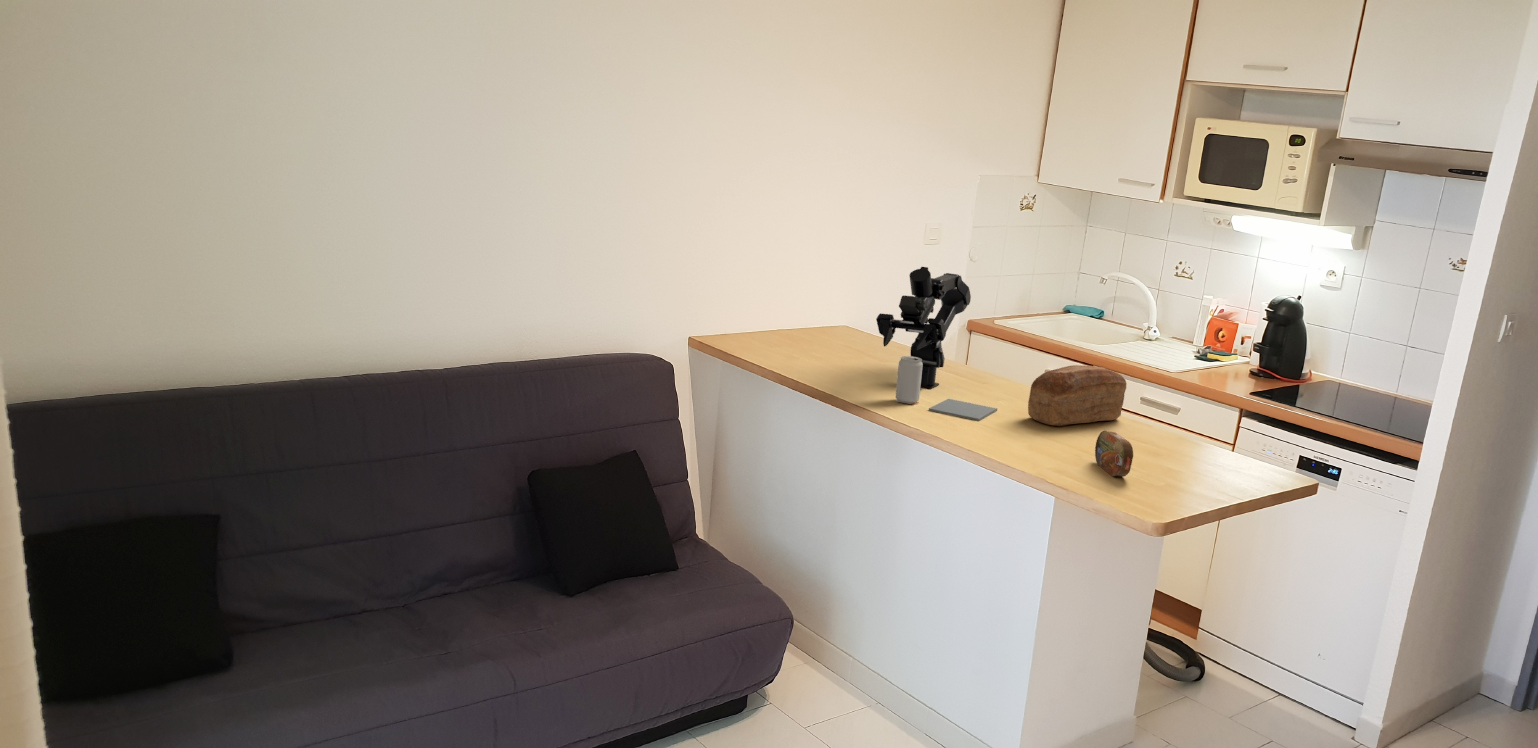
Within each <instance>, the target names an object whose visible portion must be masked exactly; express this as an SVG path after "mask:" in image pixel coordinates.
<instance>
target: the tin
mask: <svg viewBox="0 0 1538 748" xmlns="http://www.w3.org/2000/svg"><path fill="white" fill-rule="evenodd" d="M1094 456H1095V461H1096V464H1097V466H1099V467H1100V468H1101V469H1103V470H1104V471H1105V472H1106V473H1108V474H1109V475H1110V476H1111V477H1122V478H1123V477H1126V476H1127V475H1128V474H1130V472H1131V467H1132V465H1133V464H1132V463H1133V459H1134V450H1133V446H1132V444H1131V442H1130V441H1129V440H1127V439H1126V438H1125V437H1123V436H1121V435H1120V434H1119V433H1117V432H1115V431H1109V430H1105V429H1104V430H1102V431H1101V432H1100V433H1099V434H1098V437H1097V438H1096V441H1095V448H1094Z"/></svg>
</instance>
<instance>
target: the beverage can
mask: <svg viewBox="0 0 1538 748" xmlns="http://www.w3.org/2000/svg"><path fill="white" fill-rule="evenodd" d="M921 361H922V359H921V358H918V357H912V356H911V355H907V356H906V355H905V356H904V355H903V356H901V357H900V359H899V361H898V369H897V376H896V377H897V378H896V389H895V400H898V401H899V402H898V403H901V404H902V403H903V404H907V403H909V404H908V405H911V404H912V403H916V402H920V394H921V387H920V386H921V377H922V367H923V363H922V362H921Z"/></svg>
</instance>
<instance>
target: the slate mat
mask: <svg viewBox="0 0 1538 748" xmlns="http://www.w3.org/2000/svg"><path fill="white" fill-rule="evenodd" d="M929 411H930V412H934V413H940V414H944V415H948V416H953V417H957V416H958V418H962V417H963V419H968V420H971V419H972V420H971V421H976V420H978V421H977V422H981V421H982V420H984V419H985V418H987V417H988V416H990V415H992V414H994V413H996V412H997V411H998V408H996V407H991V406H986V405H982V404H978V403H973V402H972V403H971V402H967V401H962V400H958V399H953V398H952V399H951V398H947V399H945V400H942V401H941V402H939V403H937V404H935V405H933V406H931V407H929V408H928V412H929Z"/></svg>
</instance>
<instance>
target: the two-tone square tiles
mask: <svg viewBox="0 0 1538 748" xmlns="http://www.w3.org/2000/svg"><path fill="white" fill-rule="evenodd" d="M894 401H895V402H897V403H900V402H899V401H898V400H897V399H895V400H894ZM919 402H920V401H917V402H916V403H912V405H913V406H916V405H918V404H919ZM906 404H907V405H910V404H909V403H906Z"/></svg>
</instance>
